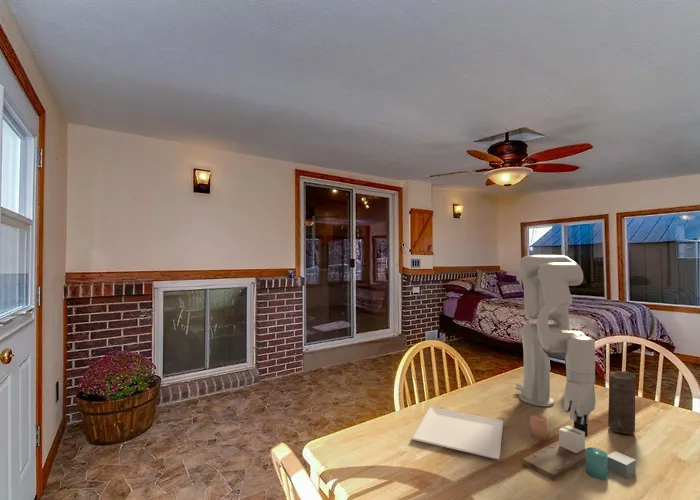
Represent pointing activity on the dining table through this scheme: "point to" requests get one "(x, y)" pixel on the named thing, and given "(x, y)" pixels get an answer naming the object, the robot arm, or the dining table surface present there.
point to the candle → (622, 402)
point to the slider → (572, 439)
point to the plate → (461, 432)
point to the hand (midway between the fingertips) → (580, 434)
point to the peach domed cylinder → (538, 427)
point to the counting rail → (554, 461)
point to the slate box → (621, 465)
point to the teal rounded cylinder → (596, 463)
